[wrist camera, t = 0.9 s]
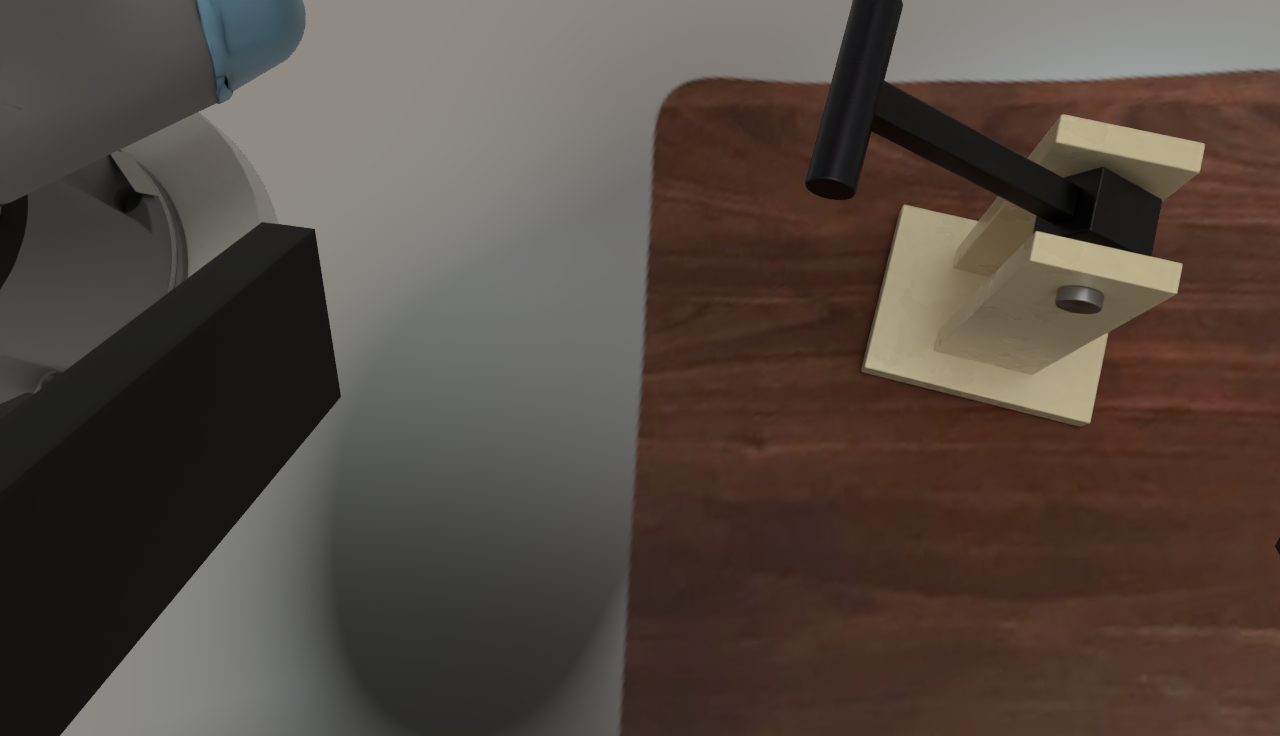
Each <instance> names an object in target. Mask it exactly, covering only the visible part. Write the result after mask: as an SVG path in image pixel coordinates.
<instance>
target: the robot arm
mask: <svg viewBox="0 0 1280 736" xmlns="http://www.w3.org/2000/svg"><path fill="white" fill-rule="evenodd" d="M304 29H305V8H304V4H303V1H302V0H0V736H60V735H61V734H62V732H63V731H64V730H65V729H66V728H67V726H68V725H69V724H70V723H71V722H72V720H73V719H74V718H75V717H76V716H77V714H78V713H79V712H80V711H81V709H82V708H83V707H84V706H85V705H86V703H87V702H88V701H89V700H90V699H91V697H92V696H93V695H94V694H95V693H96V691H97V690H98V689H99V688H100V687H101V685H102V684H103V683H104V682H105V680H106V679H107V678H108V677H109V676H110V675H111V673H112V672H113V671H114V670H115V669H116V667H117V666H118V665H119V664H120V662H121V661H122V660H123V659H124V657H125V656H126V655H127V654H128V653H129V652H130V650H131V649H132V648H133V647H134V646H135V644H136V643H137V642H138V641H139V640H140V638H141V637H142V636H143V635H144V633H145V632H146V631H147V630H148V629H149V628H150V626H151V625H152V624H153V623H154V621H155V620H156V619H157V618H158V617H159V615H160V614H161V613H162V612H163V610H164V609H165V608H166V607H167V606H168V604H169V603H170V602H171V601H172V600H173V599H174V597H175V596H176V595H177V594H178V592H179V591H180V590H181V589H182V587H184V585H185V584H186V583H187V581H188V580H189V579H190V578H191V577H192V576H193V574H194V573H195V572H196V571H197V570H198V568H199V567H200V566H201V565H202V564H203V562H204V561H205V560H206V559H207V558H208V556H209V555H210V554H211V553H212V551H213V550H214V549H215V548H216V547H217V546H218V544H219V543H220V542H221V540H222V539H223V538H224V537H225V536H226V535H227V533H228V532H229V531H230V530H231V529H232V527H233V526H234V525H235V524H236V523H237V521H238V520H239V519H240V518H241V517H242V515H243V514H244V513H245V512H246V511H247V509H248V508H249V507H250V506H251V504H252V503H253V502H254V501H255V500H256V498H257V497H258V496H259V495H260V494H261V492H262V491H263V490H264V489H265V488H266V486H267V485H268V484H269V483H270V482H271V480H272V479H273V478H274V477H275V475H276V474H277V473H278V472H279V471H280V469H281V468H282V467H283V466H284V465H285V463H286V462H287V461H288V460H289V459H290V457H291V456H292V455H293V454H294V453H295V451H296V450H297V449H298V448H299V447H300V445H301V444H302V443H303V442H304V441H305V439H306V438H307V437H308V436H309V435H310V433H311V432H312V431H313V430H314V429H315V427H316V426H317V425H318V424H319V422H320V421H321V420H322V419H323V417H324V416H325V415H326V414H327V413H328V412H329V410H330V409H331V408H332V407H333V406H334V404H335V403H336V402H337V401H338V399H339V398H340V397H341V394H340V388H339V382H338V375H337V369H336V363H335V356H334V350H333V343H332V338H331V330H330V325H329V318H328V312H327V305H326V300H325V292H324V286H323V279H322V273H321V267H320V260H319V255H318V247H317V242H316V235H315V229H311V228H303V227H295V226H288V225H281V224H273V223H266V222H261V223H260V224H259V225H257V226H256V227H255V228H253V229H252V230H251V231H249V232H248V233H247V234H246V235H244V236H243V237H242V238H240V239H239V240H238V241H236V242H235V243H234V244H232V245H231V246H230V247H228V248H227V249H226V250H224V251H223V252H222V253H220V254H219V255H218V256H216V257H215V258H214V259H212V260H211V261H210V262H208V263H207V264H206V265H204V266H203V267H202V268H200V269H199V270H198V271H196V272H195V273H194V274H193V275H191V276H190V277H189V278H188V251H187V243H186V237H185V232H184V229H183V225H182V222H181V219H180V216H179V214H178V211H177V209H176V207H175V205H174V203H173V201H172V199H171V197H170V196H169V194H168V193H167V191H166V190H165V188H164V187H163V185H162V184H161V183H160V182H159V181H158V180H157V178H156V177H155V176H154V175H153V174H152V173H151V172H150V171H149V170H147V169H146V168H145V167H144V166H143V165H141V164H140V163H139V162H137V161H136V160H135V159H134V158H133V157H132V155H131V154H128V153H124V152H122V151H121V150H120V149H122V148H124V147H126V146H129V145H131V144H133V143H135V142H137V141H139V140H141V139H143V138H145V137H147V136H149V135H151V134H153V133H155V132H158V131H160V130H162V129H164V128H166V127H168V126H170V125H172V124H174V123H176V122H178V121H180V120H182V119H185V118H187V117H189V116H191V115H193V114H195V113H197V112H199V111H201V110H203V109H205V108H207V107H209V106H211V105H213V104H216V103H218V104H220V103H223V102H225V101H226V100H228V99H230V97H231V96H232V93H233V91H234V90H236V89H238V88H239V87H241V86H243V85H244V84H246V83H248V82H250V81H251V80H253V79H255V78H256V77H258V76H259V75H261V74H263V73H265V72H266V71H268V70H270V69H271V68H273V67H275V66H277V65H278V64H280V63H282V62H283V61H285V60H286V59H288V58H289V57H290V55H291V54H292V53H293V52H294V51H295V50H296V47H297V46H298V45H299V42H300V41H301V39H302V36H303V33H304ZM1275 547H1276V549H1277V551H1278V553H1279V554H1280V538H1279V540H1278V541H1277V543H1276V545H1275Z"/></svg>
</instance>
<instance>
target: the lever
mask: <svg viewBox="0 0 1280 736" xmlns="http://www.w3.org/2000/svg"><path fill="white" fill-rule="evenodd" d="M902 7H903V4H902V0H853V3H852V6H851V10H850V14H849V17H848V21H847V25H846V29H845V33H844V37H843V40H842V44H841V48H840V52H839V56H838V60H837V63H836V67H835V71H834V75H833V79H832V83H831V86H830V90H829V94H828V98H827V102H826V106H825V109H824V113H823V117H822V121H821V125H820V129H819V132H818V136H817V140H816V144H815V148H814V151H813V155H812V159H811V163H810V167H809V171H808V174H807V178H806V182H805V185H806V187H807V189H808V190H809V191H811V192H812V193H814V194H816V195H818V196H821V197H824V198H828V199H834V200H846V199H850V198H852V197H854V196H855V194H856V190H857V186H858V182H859V178H860V174H861V170H862V166H863V162H864V158H865V154H866V150H867V146H868V143H869V139H870V135H871V131H872V132H874V133H876V134H878V135H880V136H882V137H884V138H886V139H888V140H890V141H892V142H894V143H896V144H898V145H900V146H902V147H904V148H905V149H907V150H909V151H911V152H913V153H915V154H917V155H919V156H921V157H923V158H925V159H927V160H929V161H931V162H933V163H935V164H937V165H939V166H941V167H942V168H944V169H946V170H948V171H950V172H952V173H954V174H956V175H958V176H960V177H962V178H964V179H966V180H968V181H970V182H972V183H974V184H976V185H977V186H979V187H981V188H983V189H985V190H987V191H989V192H991V193H993V194H995V195H997V196H999V197H1001V198H1003V199H1005V200H1007V201H1009V202H1011V203H1013V204H1014V205H1016V206H1018V207H1020V208H1022V209H1024V210H1026V211H1028V212H1030V213H1032V214H1034V215H1036V220H1035V225H1034V229H1033V234H1034V233H1035V232H1036V231H1039V232H1043V233H1048V234H1052V235H1056V236H1061V237H1065V238H1070V239H1074V240H1079V241H1083V242H1088V243H1092V244H1097V245H1101V246H1106V247H1110V248H1114V249H1119V250H1123V251H1128V252H1132V253H1137V254H1141V255H1146V256H1150V257H1151V255H1152V250H1153V245H1154V240H1155V234H1156V229H1157V224H1158V219H1159V214H1160V209H1161V204H1162V199H1161V198H1159V197H1157V196H1155V195H1153V194H1152V193H1150V192H1148V191H1146V190H1144V189H1143V188H1141V187H1139V186H1137V185H1136V184H1134V183H1132V182H1130V181H1128V180H1127V179H1125V178H1123V177H1121V176H1120V175H1118V174H1116V173H1114V172H1112V171H1111V170H1109V169H1107V168H1105V167H1100V168H1096V169H1093V170H1089V171H1085V172H1082V173H1078V174H1074V175H1071V176H1067V177H1064V178H1063V177H1061V176H1059V175H1057V174H1055V173H1053V172H1052V171H1050V170H1048V169H1046V168H1044V167H1042V166H1041V165H1039V164H1037V163H1035V162H1033V161H1031V160H1030V159H1028V158H1026V157H1024V156H1022V155H1020V154H1018V153H1017V152H1015V151H1013V150H1011V149H1009V148H1007V147H1006V146H1004V145H1002V144H1000V143H998V142H996V141H995V140H993V139H991V138H989V137H987V136H985V135H983V134H982V133H980V132H978V131H976V130H974V129H972V128H971V127H969V126H967V125H965V124H963V123H961V122H960V121H958V120H956V119H954V118H952V117H950V116H948V115H947V114H945V113H943V112H941V111H939V110H937V109H936V108H934V107H932V106H930V105H928V104H926V103H925V102H923V101H921V100H919V99H917V98H915V97H914V96H912V95H910V94H908V93H906V92H904V91H902V90H901V89H899V88H897V87H895V86H893V85H891V84H890V83H888V82H886V81H884V79H885V75H886V71H887V67H888V63H889V59H890V55H891V51H892V47H893V43H894V39H895V35H896V31H897V27H898V23H899V19H900V15H901V11H902ZM1033 234H1032V235H1033Z"/></svg>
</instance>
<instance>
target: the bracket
mask: <svg viewBox="0 0 1280 736" xmlns="http://www.w3.org/2000/svg"><path fill="white" fill-rule="evenodd" d="M1204 147H1205V144H1204V143H1199V142H1195V141H1190V140H1185V139H1180V138H1175V137H1170V136H1166V135H1161V134H1156V133H1151V132H1146V131H1141V130H1137V129H1132V128H1127V127H1122V126H1117V125H1112V124H1107V123H1103V122H1098V121H1093V120H1088V119H1083V118H1078V117H1074V116H1069V115H1064V114H1062V115H1061V116H1060V117H1059V118H1058V120H1057V121H1056V122H1055V123H1054V125H1053V126H1052V127H1051V129H1050V130H1049V131H1048V132H1047V134H1046V135H1045V136H1044V138H1043V139H1042V140H1041V141H1040V143H1039V144H1038V145H1037V147H1036V148H1035V149H1034V150H1033V152H1032V153H1031V154H1030V156H1029V157H1028V159H1030V160H1031V161H1033V162H1035V163H1037V164H1039V165H1041V166H1042V167H1044V168H1046V169H1048V170H1050V171H1052V172H1053V173H1055V174H1057V175H1059V176H1061V177H1063V178H1064V177H1067V176H1071V175H1074V174H1078V173H1082V172H1085V171H1089V170H1093V169H1096V168H1100V167H1105V168H1107V169H1109V170H1111V171H1112V172H1114V173H1116V174H1118V175H1120V176H1121V177H1123V178H1125V179H1127V180H1128V181H1130V182H1132V183H1134V184H1136V185H1137V186H1139V187H1141V188H1143V189H1144V190H1146V191H1148V192H1150V193H1152V194H1153V195H1155V196H1157V197H1159V198H1161V199H1162V201H1164V200H1165V199H1166V198H1168V197H1169V196H1170V195H1171V194H1173V193H1174V192H1175V191H1176V190H1178V189H1179V188H1180V187H1181V186H1183V185H1184V184H1185V183H1187V182H1188V181H1189V180H1190V179H1192V178H1193V177H1194V176H1195V175H1197V174H1198V173H1199V172H1200V169H1201V163H1202V158H1203V153H1204ZM1035 220H1036V215H1034V214H1032V213H1030V212H1028V211H1026V210H1024V209H1022V208H1020V207H1018V206H1016V205H1014V204H1013V203H1011V202H1009V201H1007V200H1005V199H1003V198H1001V197H999V196H998V197H997V198H996V199H995V201H994V202H993V203H992V205H991V206H990V207H989V208H988V210H987V211H986V212H985V214H984V215H983V216H982V217H981V219H980V220H979V221H974V220H970V219H966V218H961V217H957V216H952V215H948V214H943V213H939V212H934V211H930V210H926V209H921V208H917V207H912V206H908V205H903V207H902V209H901V211H900V213H899V216H898V220H897V224H896V228H895V232H894V236H893V240H892V245H891V249H890V253H889V257H888V261H887V265H886V269H885V273H884V278H883V282H882V286H881V290H880V294H879V298H878V302H877V306H876V311H875V315H874V319H873V323H872V327H871V331H870V335H869V339H868V343H867V348H866V352H865V356H864V360H863V364H862V368H861V372H864V373H868V374H872V375H876V376H880V377H884V378H888V379H892V380H896V381H900V382H904V383H908V384H912V385H916V386H920V387H924V388H928V389H932V390H936V391H940V392H944V393H948V394H952V395H955V396H959V397H963V398H967V399H971V400H975V401H979V402H983V403H987V404H991V405H995V406H999V407H1003V408H1007V409H1011V410H1015V411H1019V412H1023V413H1027V414H1031V415H1035V416H1039V417H1043V418H1047V419H1051V420H1055V421H1059V422H1063V423H1067V424H1071V425H1075V426H1079V427H1080V426H1083V425H1086V424H1089V423H1090V422H1091V417H1092V412H1093V407H1094V402H1095V397H1096V392H1097V387H1098V382H1099V377H1100V372H1101V367H1102V362H1103V357H1104V352H1105V347H1106V342H1107V337H1108V332H1110V331H1112V330H1113V329H1115V328H1117V327H1119V326H1120V325H1122V324H1124V323H1126V322H1128V321H1129V320H1131V319H1133V318H1135V317H1136V316H1138V315H1140V314H1142V313H1144V312H1145V311H1147V310H1149V309H1151V308H1153V307H1154V306H1156V305H1158V304H1160V303H1161V302H1163V301H1165V300H1167V299H1169V298H1170V297H1172V296H1174V295H1176V294H1177V292H1178V286H1179V281H1180V276H1181V270H1182V264H1181V263H1177V262H1172V261H1168V260H1164V259H1159V258H1155V257H1150V256H1146V255H1141V254H1137V253H1132V252H1128V251H1123V250H1119V249H1114V248H1110V247H1106V246H1101V245H1097V244H1092V243H1088V242H1083V241H1079V240H1074V239H1070V238H1065V237H1061V236H1056V235H1052V234H1048V233H1043V232H1039V231H1036V232H1035V233H1034V234H1033V229H1034V225H1035ZM1032 234H1033V235H1032Z"/></svg>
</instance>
